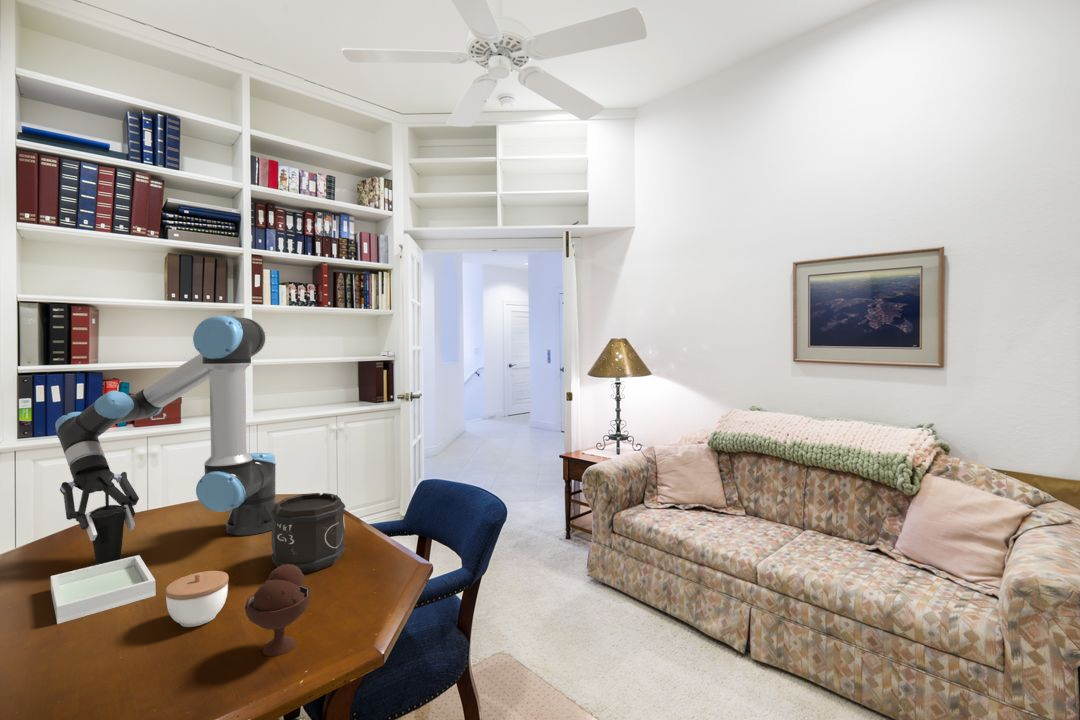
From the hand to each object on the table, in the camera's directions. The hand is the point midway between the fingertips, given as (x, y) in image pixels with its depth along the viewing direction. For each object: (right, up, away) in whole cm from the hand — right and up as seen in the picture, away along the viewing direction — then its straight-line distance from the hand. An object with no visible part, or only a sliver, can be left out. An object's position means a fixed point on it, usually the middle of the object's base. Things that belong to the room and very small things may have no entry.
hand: (113, 532), depth 128 cm
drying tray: (+10, -9, -14) cm, 19 cm away
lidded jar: (+39, -9, -25) cm, 47 cm away
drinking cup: (-3, -9, +2) cm, 9 cm away
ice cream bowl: (+61, -10, -34) cm, 70 cm away
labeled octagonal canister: (+48, -9, +4) cm, 49 cm away
